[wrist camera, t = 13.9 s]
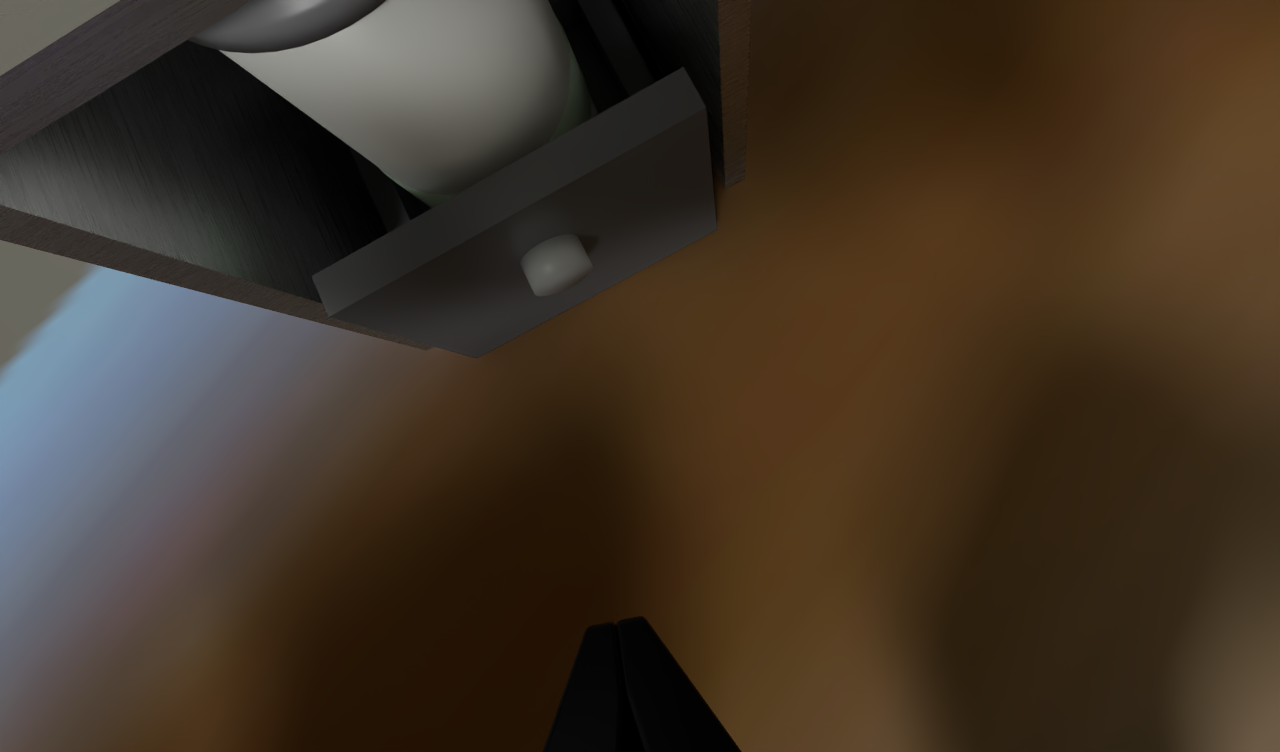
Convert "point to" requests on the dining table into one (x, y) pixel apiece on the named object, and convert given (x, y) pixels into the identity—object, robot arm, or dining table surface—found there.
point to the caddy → (236, 145)
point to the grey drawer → (540, 211)
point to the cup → (417, 79)
